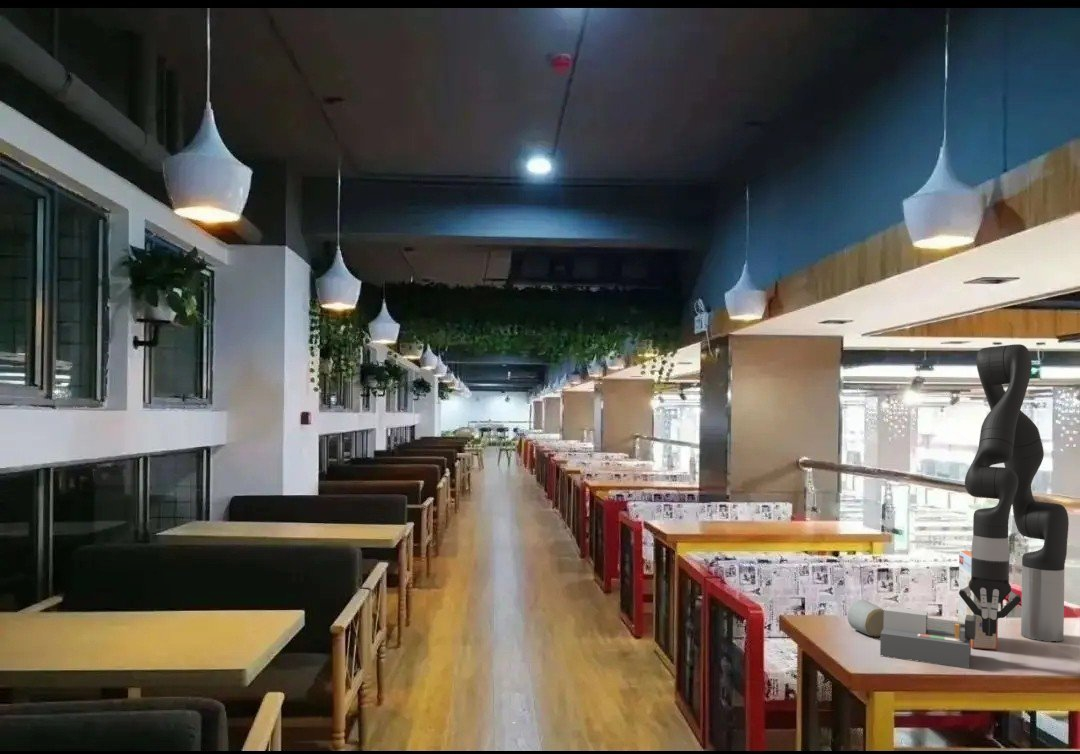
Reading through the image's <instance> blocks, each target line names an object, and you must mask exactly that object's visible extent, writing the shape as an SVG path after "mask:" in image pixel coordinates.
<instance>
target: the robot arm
mask: <svg viewBox="0 0 1080 754" xmlns="http://www.w3.org/2000/svg"><path fill="white" fill-rule="evenodd" d="M975 359H976V361H975V363H976V369H977V372H978V377H979V379H980V383H981V385H982V389H983V391H984V394H985V398H986V401H987V402H988V406H989V408H990V409H989V410H990V411H989V413H987V415H986V417H985V418H984V420H983V422H982V425H981V428H980V435H979V439H978V440H979V443H978V447H977V448H978V449H977V451H976V453H975V456H974V457H973V460H972V462H971V464H970V466H969V468H968V470H967V472H966V474H965V477H964V487H965V490H966V491H967V493H968V494H969V495H970V496H972V497H973V498H974V497H975V498H980V499H994V500H995V499H996V500H998V503H997V505H995V506H993V507H986V508H985V507H984V508H979V509H976V510H975V511H974V513H973V519H972V520H973V523H972V526H973V527H972V534H973V536H972V541H971V550H970V551H971V555H972V559H971V580H970V582H969V586H967V587H966V588H964V589H960V591H959V590H958V596H959V595H960V596H961V597H962V599H963V600H964V601H965V603H966V604H967V605H968V607H969V608H970V609H971V611H972V612H973V613H974V614H975V615H979V616H981V617H982V631H983V633H985V636H993V634H996V621H997V619H998V620H999V619H1004V618H1006V616H1008V615H1009V614H1010V613H1011V612H1012V611H1013V610H1014V609H1015V607H1016V606H1017V605H1018V604H1020V603H1021V608H1020V609H1021V616H1020V617H1021V619H1020V620H1021V622H1020V623H1021V624H1020V625H1021V628H1020V635H1021V636H1023V637H1024V636H1025V638H1028V639H1031V638H1032V640H1035V639H1037V640H1036V641H1041V640H1044V641H1043V642H1051V641H1056V642H1061V641H1062V642H1063V641H1064V636H1065V634H1064V632H1065V631H1064V629H1065V627H1064V626H1065V570H1066V569H1065V565H1066V559H1067V554H1068V537H1069V536H1068V535H1069V527H1070V525H1069V513H1068V511H1067V509H1066V507H1065V506H1064V505H1062V504H1060V503H1055V502H1046V501H1037V500H1035V499H1034V496H1033V491H1032V484H1033V480H1034V477H1035V476H1036V475H1037V472H1038V470H1040V466H1042V462H1043V460H1044V455H1045V452H1044V445H1043V443H1042V442H1043V441H1042V438H1041V434H1040V431H1039V428H1038V427H1037V425H1036V424H1035V422H1034V421H1033V420H1032V419H1031V418H1030V417H1029V416H1028V415H1026V413H1025V412H1024V411H1022V410H1021V408H1022V407H1023V403H1024V400H1025V397H1026V394H1027V389H1028V387H1029V384H1030V383H1029V382H1030V379H1031V375H1032V368H1033V364H1032V356H1031V353H1030V351H1029V349H1028V347H1027V346H1025V345H1024V344H1021V343H1019V344H1018V343H1017V344H1016V343H1015V344H1006V345H997V346H988V347H987V346H986V347H983V348H981V349H979V350H978V351H977V354H976V357H975ZM1003 385H1008V387H1007V389H1006V390H1005V388H1004V386H1003ZM998 464H1003V465H1004V466H1003V467H1000V466H994V465H998ZM1011 509H1012V513H1013V518H1014V519H1013V520H1014V523H1015V527H1016V530H1017V531H1018V533H1019V534H1020V535H1021V536H1022V537H1025V538H1029V539H1036V540H1037V539H1038V540H1043V547H1042V548H1040V549H1038V550H1035V551H1030V552H1029V551H1028V552H1024V554H1023V555H1022V556H1021V557H1022V558H1021V595H1020V594H1017V593H1016V592H1014V590H1012V586H1011V585H1010V557H1011V556H1010V542H1009V520H1010V513H1011ZM970 590H971V591H972V592H973V594H974V595H975V596H976V598H977V599H978V600H979V601H981V609H982V610H981V609H979V608H978V607H977V606H976V604H975V603H974V602H973V600H972V599H971V598H970V597H971V593H970ZM1006 597H1008V602H1007V603H1006V604H1005V605H1004V606H1003V607H1002V609H1000V610H998V612H997V608H998V609H999V604H1001V603H1002V602H1003V601H1004V600H1005V599H1006ZM989 602H990V603H992V605H991V615H990V619H989V617H988V603H989Z"/></svg>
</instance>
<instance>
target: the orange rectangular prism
mask: <svg viewBox="0 0 1080 754" xmlns="http://www.w3.org/2000/svg"><path fill="white" fill-rule="evenodd" d="M955 638H956V639H959V624H955Z"/></svg>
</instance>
